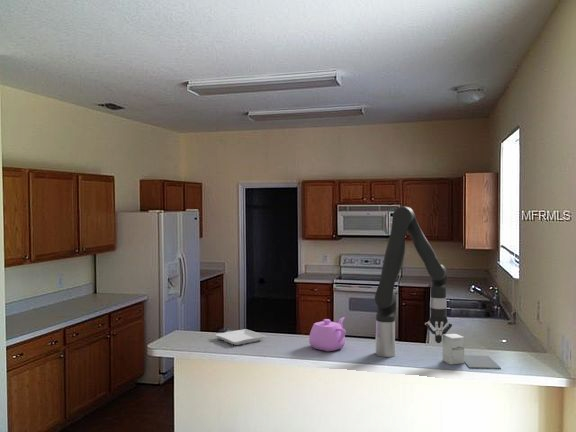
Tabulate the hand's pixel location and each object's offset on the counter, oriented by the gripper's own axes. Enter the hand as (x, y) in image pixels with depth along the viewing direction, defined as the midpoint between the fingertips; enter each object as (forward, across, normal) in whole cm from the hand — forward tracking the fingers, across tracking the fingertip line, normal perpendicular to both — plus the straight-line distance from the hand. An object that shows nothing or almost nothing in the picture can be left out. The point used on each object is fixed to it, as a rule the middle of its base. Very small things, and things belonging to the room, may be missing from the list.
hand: (438, 342), depth 233 cm
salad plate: (+9, -102, +30) cm, 107 cm away
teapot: (+9, -53, +19) cm, 57 cm away
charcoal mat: (+9, +19, 0) cm, 21 cm away
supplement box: (+9, +7, 0) cm, 12 cm away
